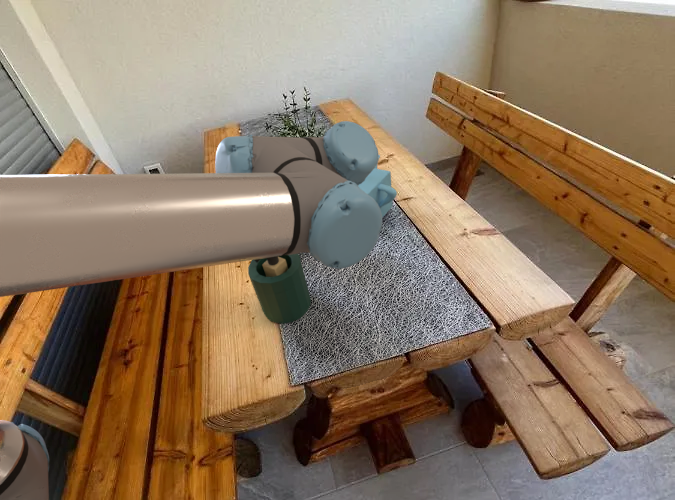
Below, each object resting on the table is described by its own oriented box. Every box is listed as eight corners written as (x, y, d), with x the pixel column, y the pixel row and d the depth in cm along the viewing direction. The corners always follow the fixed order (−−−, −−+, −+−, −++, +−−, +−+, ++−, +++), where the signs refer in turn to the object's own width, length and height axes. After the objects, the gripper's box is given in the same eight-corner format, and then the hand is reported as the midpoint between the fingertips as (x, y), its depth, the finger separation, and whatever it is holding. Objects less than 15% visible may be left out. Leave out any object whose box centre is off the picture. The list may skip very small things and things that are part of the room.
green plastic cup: (276, 331, 80) (261, 291, 72) (255, 303, 87) (240, 263, 80) (319, 306, 84) (309, 265, 76) (296, 280, 91) (284, 240, 83)
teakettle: (403, 228, 101) (401, 178, 92) (333, 245, 99) (324, 196, 90) (381, 193, 115) (378, 147, 106) (320, 207, 114) (311, 162, 105)
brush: (280, 287, 79) (259, 224, 69) (268, 282, 81) (245, 219, 70) (290, 277, 81) (271, 214, 71) (278, 272, 83) (258, 210, 72)
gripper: (292, 246, 56) (245, 290, 75) (349, 193, 65) (294, 244, 84) (256, 207, 55) (217, 261, 74) (318, 159, 64) (269, 218, 83)
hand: (258, 252), depth 79 cm, fingers closed on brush, 2 cm apart
